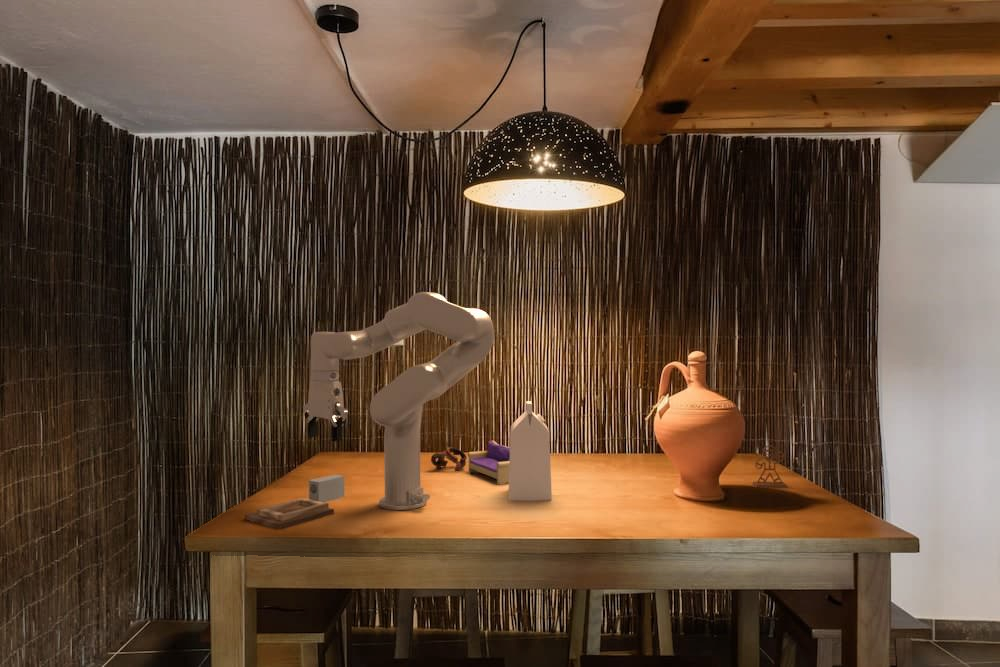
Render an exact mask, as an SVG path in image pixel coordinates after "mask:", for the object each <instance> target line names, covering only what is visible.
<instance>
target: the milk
mask: <svg viewBox="0 0 1000 667" xmlns="http://www.w3.org/2000/svg"><path fill="white" fill-rule="evenodd" d="M525 407H526V409H525V411H524V412H522V414H521V415H519V417H518V418H517V419H515V420H514V421H513V423H512V424H511V425H510V435H509V438H510V440H509V447H510V462H509V483H508V496H509V497H508V498H509V501H553V499H552V498H553V497H552V496H553V495H552V472H551V471H552V470H551V444H550V443H551V442H550V439H551V438H550V429H549V428H548V426H547V424H546V423H545V422H546V420H545V418H544V417H543V416H542V415H541V414H540V413H538V414H536V413H535V412H533V403H532V401H531V400H527V401H525Z"/></svg>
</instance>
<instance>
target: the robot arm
mask: <svg viewBox="0 0 1000 667" xmlns="http://www.w3.org/2000/svg"><path fill="white" fill-rule="evenodd" d="M426 330H428V331H430V332H432V333H435V334H438V335H440V336H443V337H445V338H448V339H450V340H453V341H456V342H455V343H453V344H452V345H449V346H448V347H447V348H446V349H445V350H443V351H442V352H441V353H440V354H439V355H437V356H435V358H433V359H432V360H429V361H428V362H425V363H421V364H416V365H413V366H411V367H409V368H407V369H406V370H405V371H403V372H401V373H400V374H399V375H398V376H396V378H393V380H392V381H390V382H389V383H388V384H387V385H385V386H383V388H381V389H380V390H379V391H377V392H376V393H375V394H374V396H373V397H372V399H371V402H370V405H369V413H370V414H369V415H370V416H371V418H372V420H373V421H374V423H376V424H377V425H379V426H383V427H384V434H383V435H384V436H383V437H384V438H383V446H384V447H383V450H384V451H383V455H384V457H383V458H384V459H383V461H384V462H383V463H384V464H383V465H384V466H383V468H384V474H383V475H384V497H382V498H380V499H379V500H378V507H380V508H382V509H386V510H393V511H394V510H395V511H396V510H397V511H404V510H406V511H407V510H413V509H419V508H422V507H424V506H425V505H426V504H427V502H428V501H429V500H430V498H431V495H430V493H424V487H422V486H421V426H422V425H421V423H422V416H423V405H424V404H425V403H427V402H429V401H431V400H434V399H435V400H436V399H437V398H439V397H441V396H442V395H443V394H445V392H447V391H448V390H449V389H450V388H452V387H453V386H454V385H455V384H457V383H458V382H459V381H461V380H462V379H463V378H464V377H465V376H467V375H468V374H469V373H470V372H472V371H473V370H475V368H477V366H478V365H479V364H481V363H482V362H483V361H484V360H485V359H486V357H487V356H488V354H490V351H491V350H492V346H493V344H494V339H495V328H494V323H493V320H492V319H491V316H489V314H488V313H487V312H485V311H484V310H482V309H479V308H476V307H475V308H473V307H462V306H460V305H458V304H454V303H451V302H450V301H448V300H447V299H446V298H445V296H443V295H442V294H440V293H437V292H428V291H421V292H417V293H415V294H413V295H412V296H411V297H409V299H408V300H407V302H406V303H404V304H402V305H399V306H397V307H395V308H391V309H390V310H388V311H387V312H386V313H385V315H384V318H383V319H382V320H380V321H379V322H377V323H375V324H373V325H371V326H368V327H366V328H363V329H361V330H355V331H354V330H352V331H351V330H350V331H342V332H341V331H339V332H334V331H315V332H313V333H312V334H311V336H310V383H309V387H308V388H309V389H308V395H307V396H308V397H307V398H308V400H307V403H306V404H304V405H302V409H303V413H304V417H305V419H306V423H307V438H316V437H318V436H319V421H318V420H319V419H324V420H329V421H330V422H331V424H332V426H331V431H330V432H331V433H330V434H331V435H330V436H331V442H339V441H342V440H343V426H344V424H345V422H346V421H347V417H348V414H349V411H348V409H346V408H345V406H344V405H345V404H344V393H343V388H342V382H341V381H340V360H355V359H361V358H366V357H368V356H371V355H374V354H376V353H378V352H381V351H383V350H386V349H387V348H390V347H391V346H393V345H395V344H398V343H400V342H401V341H403V340H405V339H407V338H409V337H412V336H414V335H416V334H419V333H421V332H424V331H426Z"/></svg>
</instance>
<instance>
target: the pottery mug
mask: <svg viewBox="0 0 1000 667" xmlns="http://www.w3.org/2000/svg"><path fill="white" fill-rule="evenodd" d="M457 456H460V458H458V457H457ZM467 457H468V456H467V455H466V454H465V453H464V452H463V451H462V450H460V449H459V448H456V447H452V446H449V447H447V448H446V450H443V451H442V452H441V453H440V452H439V453H438V452H435V453H434V454H432V456H431V457H430V462H431V464H432V465H433V466H434V467H435V468H436V469H437V470H440V469H441V466H446V467H447V464H448V462H449V461H450V462H452V463H453V464H455V468H454V471H455V472H456V471H459V472H460V471H461V469H463V468H465V467H466V465H467V462H466V461H467ZM445 458H446V459H447V460H445ZM448 460H449V461H448Z"/></svg>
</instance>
